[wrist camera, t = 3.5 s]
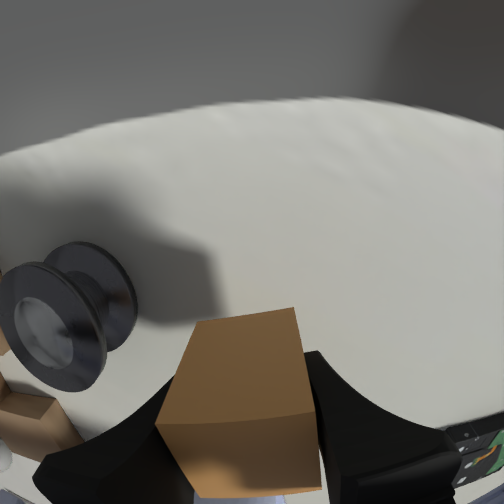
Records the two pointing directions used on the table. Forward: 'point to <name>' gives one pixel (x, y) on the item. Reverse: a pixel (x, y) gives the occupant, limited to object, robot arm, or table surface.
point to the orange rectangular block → (243, 409)
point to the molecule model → (5, 456)
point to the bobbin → (67, 314)
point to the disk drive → (478, 448)
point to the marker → (22, 499)
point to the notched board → (33, 421)
